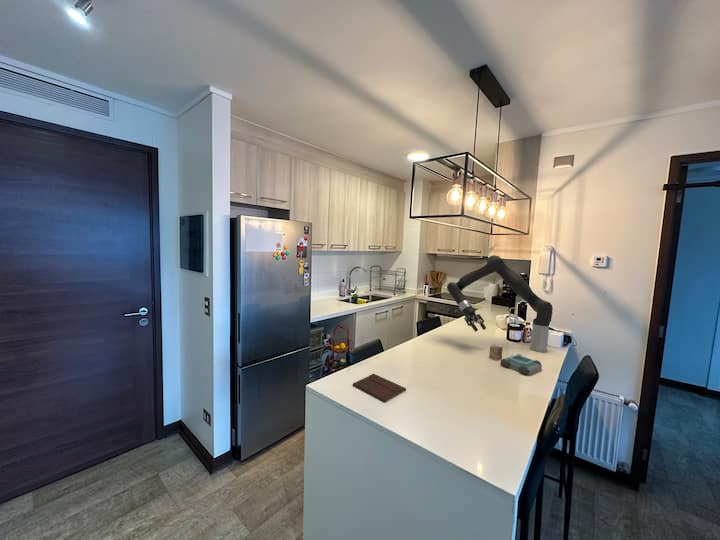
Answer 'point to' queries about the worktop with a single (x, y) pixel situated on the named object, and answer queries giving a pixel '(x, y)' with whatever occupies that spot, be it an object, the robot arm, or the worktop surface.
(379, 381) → the notebook
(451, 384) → the worktop surface
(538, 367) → the chassis
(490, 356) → the engine block
